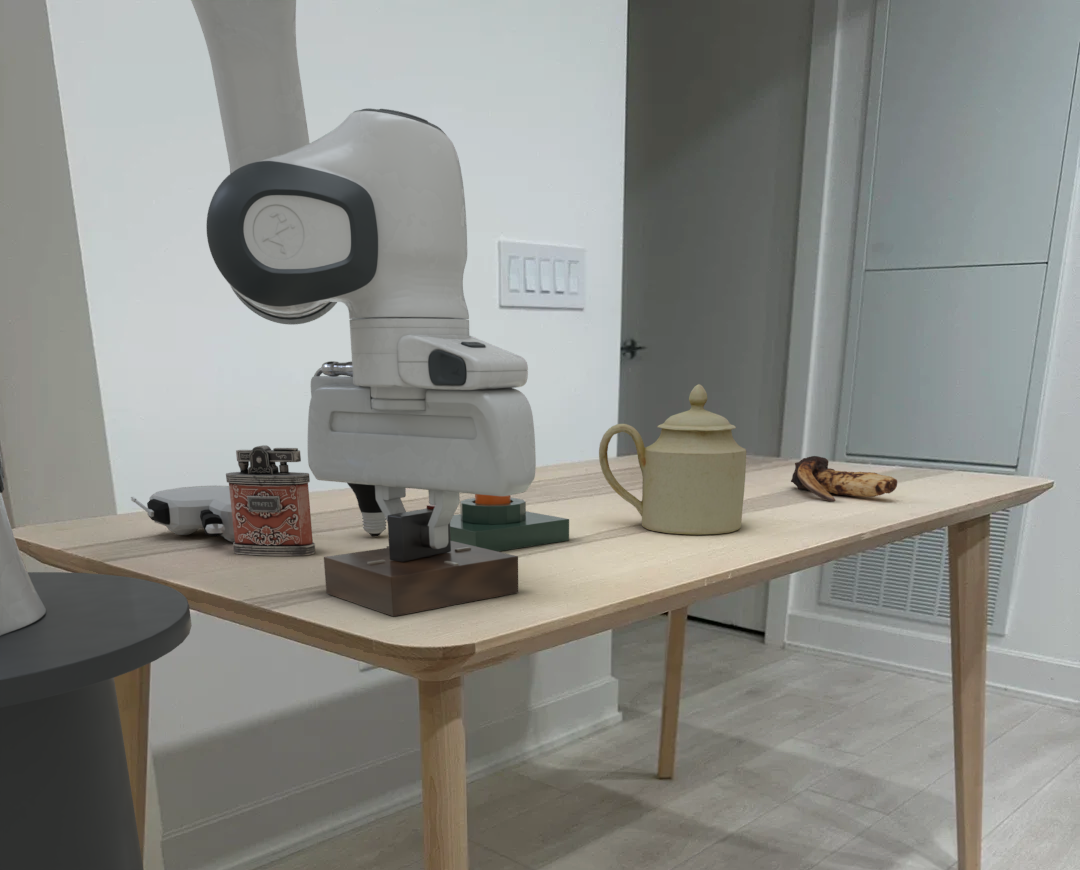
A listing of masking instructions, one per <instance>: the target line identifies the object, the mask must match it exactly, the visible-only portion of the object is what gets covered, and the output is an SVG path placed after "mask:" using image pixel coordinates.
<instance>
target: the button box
mask: <svg viewBox="0 0 1080 870" xmlns="http://www.w3.org/2000/svg"><path fill="white" fill-rule="evenodd" d="M459 505H460V507H459V508H460V513H458V514H454V515H453V517H452V519H451V521H450V536H451V541H454V542H459V543H463V544H467V545H472V546H476V547H480V548H484V549H489V550H493V551H497V552H505V551H511V550H516V549H522V548H529V547H536V546H542V545H543V546H544V545H548V544H554V543H555V544H556V543H561V542H567V541H569V540H570V518H566V517H559V516H555V515H550V514H545V513H544V514H543V513H538V512H533V511H527V502H526V500H524V499H522V498H517V497H511V503H508V504H490V505H489V504H477V503H475V497H471V498H466V499H463V500H460V503H459Z"/></svg>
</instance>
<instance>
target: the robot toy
mask: <svg viewBox="0 0 1080 870" xmlns="http://www.w3.org/2000/svg"><path fill="white" fill-rule="evenodd" d="M130 501H131V502H132V503H135V504H136V505H137V506H139V507H140V508H141V509H143V511H145V512H146V513H147V516H148V517H149V518H150V519H151V521H154V523H156V524H158V525H162V526H164V527H166V528H167V529H168V531H170V532H172V533H174V534H175V535H179V536H189V535H192V534H194V533H195V532H197V530H199V529H202V530H203V532H204V533H205V535H206V536H209V537H219V536H221V537H223V538H224V539H225V540H226V541H228V542H230V543H234V542H235V538H234V528H233V519H232V509H231V500H230V490H229V485H217V484H216V485H215V484H214V485H196V486H183V487H182V486H181V487H176V488H175V487H174V488H170V489H164V490H159V491H156V492H154V493H153V494H151V496H150V497H149V500H148V502H147V503H146V506H145V505H144V504H143V503H141V502H140V501H139V500H138V499H137V498H136V497H135V496H131V497H130Z"/></svg>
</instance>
